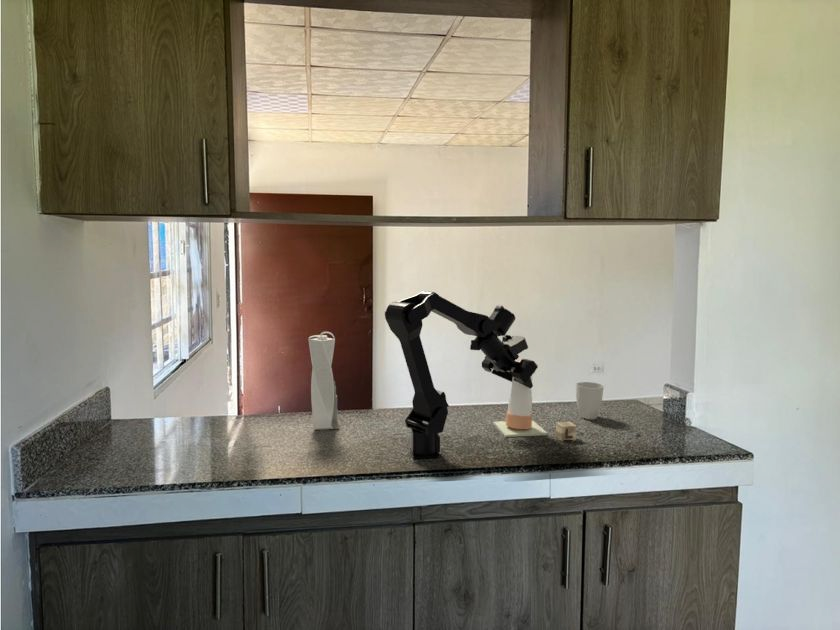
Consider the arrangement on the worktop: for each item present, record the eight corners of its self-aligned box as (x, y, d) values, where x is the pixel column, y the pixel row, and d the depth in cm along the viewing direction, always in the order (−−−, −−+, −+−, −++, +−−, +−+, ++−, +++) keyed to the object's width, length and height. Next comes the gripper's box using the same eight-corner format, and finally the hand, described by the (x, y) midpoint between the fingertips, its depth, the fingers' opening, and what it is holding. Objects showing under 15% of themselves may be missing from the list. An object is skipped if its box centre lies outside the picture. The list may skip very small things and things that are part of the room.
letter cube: (561, 441, 149) (562, 427, 149) (555, 436, 153) (556, 422, 153) (576, 440, 150) (576, 426, 150) (569, 435, 154) (570, 421, 154)
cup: (590, 412, 177) (591, 381, 176) (607, 419, 169) (609, 387, 168) (569, 414, 174) (570, 383, 173) (585, 422, 166) (587, 389, 165)
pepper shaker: (500, 423, 160) (505, 357, 158) (519, 421, 164) (524, 356, 162) (517, 430, 154) (522, 361, 152) (536, 428, 157) (542, 360, 156)
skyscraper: (339, 431, 156) (338, 332, 153) (310, 432, 155) (308, 332, 152) (337, 422, 165) (336, 327, 162) (309, 423, 163) (308, 328, 160)
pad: (505, 436, 152) (505, 434, 152) (493, 423, 164) (493, 421, 164) (547, 435, 154) (547, 433, 154) (532, 422, 166) (532, 420, 166)
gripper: (533, 331, 146) (563, 369, 152) (491, 323, 162) (520, 358, 169) (508, 363, 143) (540, 400, 149) (467, 351, 159) (498, 386, 166)
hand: (524, 384), depth 158 cm, fingers closed on pepper shaker, 6 cm apart
